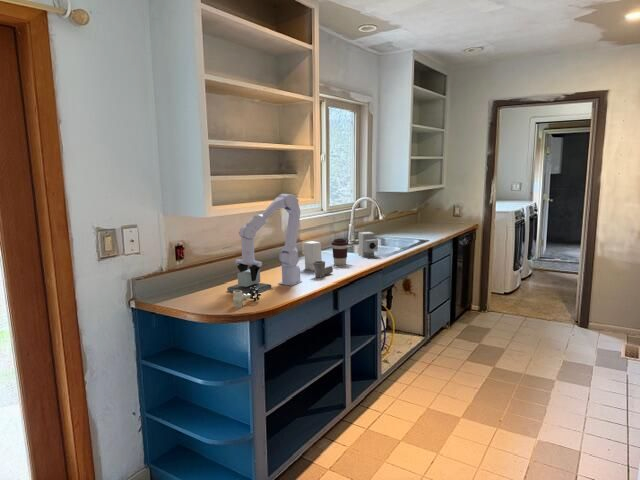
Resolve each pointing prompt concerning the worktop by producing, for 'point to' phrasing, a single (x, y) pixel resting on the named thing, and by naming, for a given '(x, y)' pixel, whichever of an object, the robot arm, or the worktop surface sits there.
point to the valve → (244, 296)
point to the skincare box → (312, 254)
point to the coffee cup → (339, 251)
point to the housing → (247, 278)
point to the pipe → (321, 268)
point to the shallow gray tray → (245, 290)
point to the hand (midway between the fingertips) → (249, 280)
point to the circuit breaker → (367, 244)
